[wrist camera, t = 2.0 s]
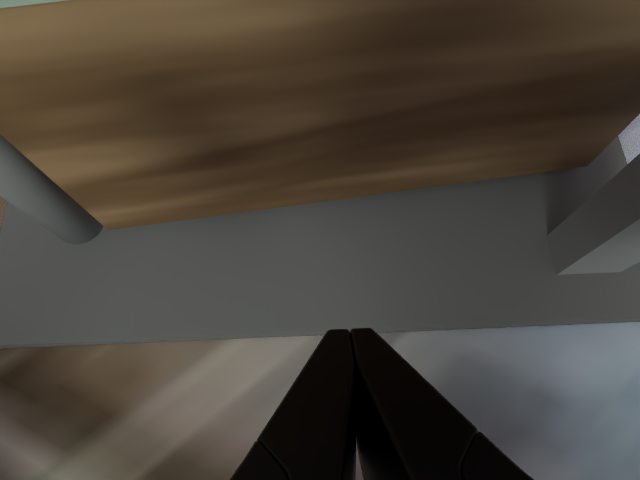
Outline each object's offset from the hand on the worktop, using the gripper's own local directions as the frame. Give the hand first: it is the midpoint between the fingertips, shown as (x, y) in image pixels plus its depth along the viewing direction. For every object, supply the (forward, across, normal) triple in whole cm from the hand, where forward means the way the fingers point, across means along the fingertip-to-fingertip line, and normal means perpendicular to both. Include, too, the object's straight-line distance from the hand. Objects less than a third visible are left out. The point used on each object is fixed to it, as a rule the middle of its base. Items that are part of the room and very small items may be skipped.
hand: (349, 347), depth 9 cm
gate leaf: (+15, -1, +1) cm, 15 cm away
